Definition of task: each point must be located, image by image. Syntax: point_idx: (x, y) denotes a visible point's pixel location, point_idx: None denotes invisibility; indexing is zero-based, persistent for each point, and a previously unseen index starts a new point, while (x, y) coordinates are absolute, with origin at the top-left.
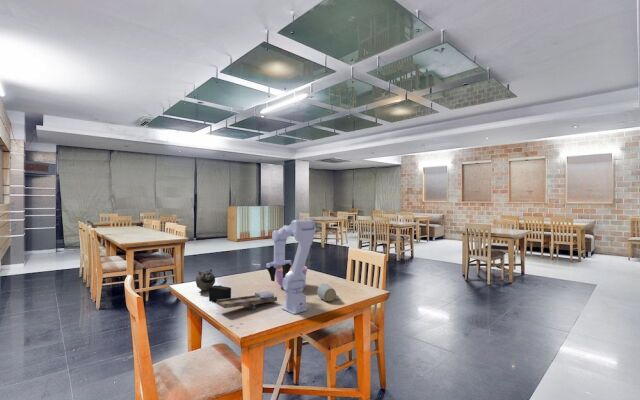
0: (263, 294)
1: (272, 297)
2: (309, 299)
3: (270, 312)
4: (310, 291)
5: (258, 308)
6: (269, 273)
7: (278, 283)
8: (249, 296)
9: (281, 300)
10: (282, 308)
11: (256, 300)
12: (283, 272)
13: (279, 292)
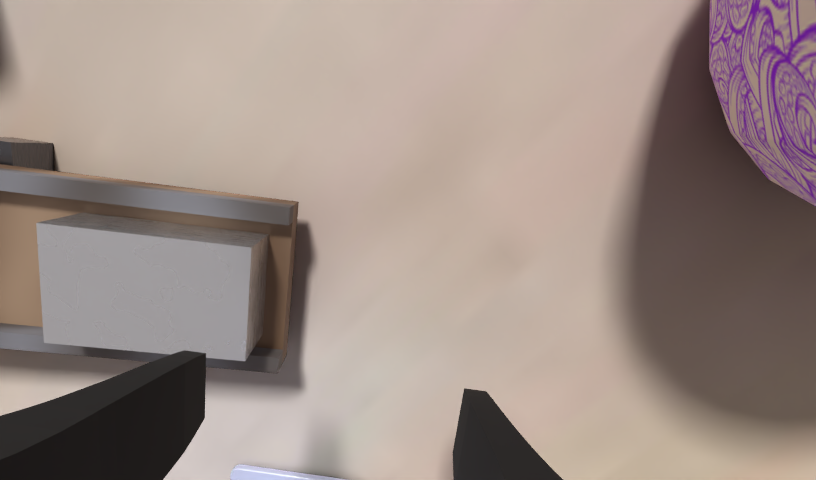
0: (95, 339)
1: None
2: (572, 472)
3: None
4: (802, 333)
5: None
6: (18, 422)
7: None
8: (7, 190)
9: (382, 315)
10: (231, 475)
11: (11, 346)
12: (490, 472)
13: (565, 103)
